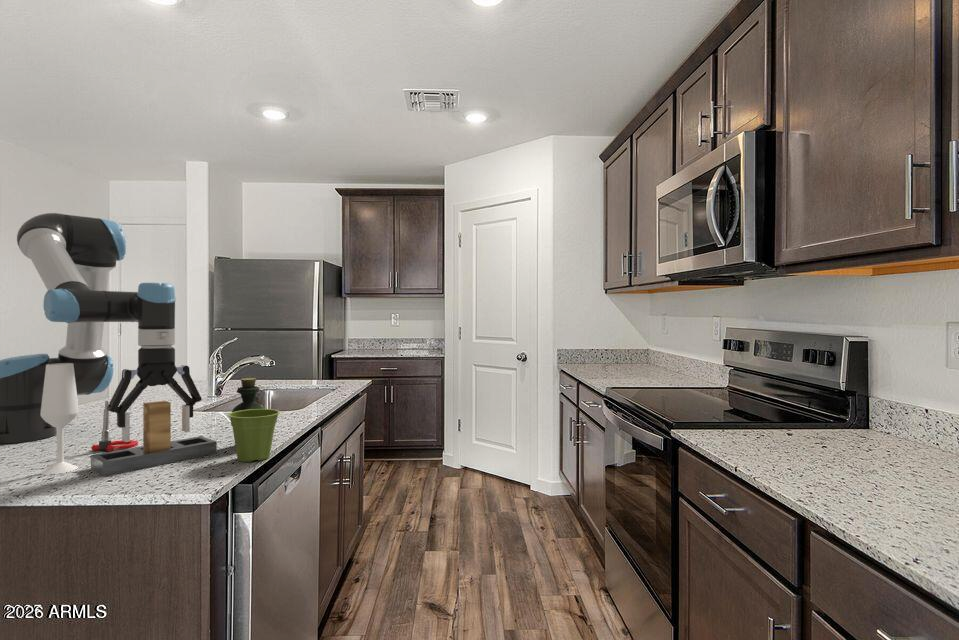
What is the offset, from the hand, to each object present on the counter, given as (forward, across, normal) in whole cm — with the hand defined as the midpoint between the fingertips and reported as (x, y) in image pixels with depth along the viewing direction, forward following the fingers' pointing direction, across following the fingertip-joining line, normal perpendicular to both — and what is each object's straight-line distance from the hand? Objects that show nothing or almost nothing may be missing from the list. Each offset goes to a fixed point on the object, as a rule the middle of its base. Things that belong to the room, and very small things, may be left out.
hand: (157, 435), depth 123 cm
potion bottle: (+6, +21, -3) cm, 22 cm away
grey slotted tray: (+6, 0, 0) cm, 6 cm away
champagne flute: (+6, -17, +8) cm, 20 cm away
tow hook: (+6, -2, +22) cm, 23 cm away
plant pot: (+6, +16, -16) cm, 23 cm away
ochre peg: (+6, 0, 0) cm, 6 cm away
